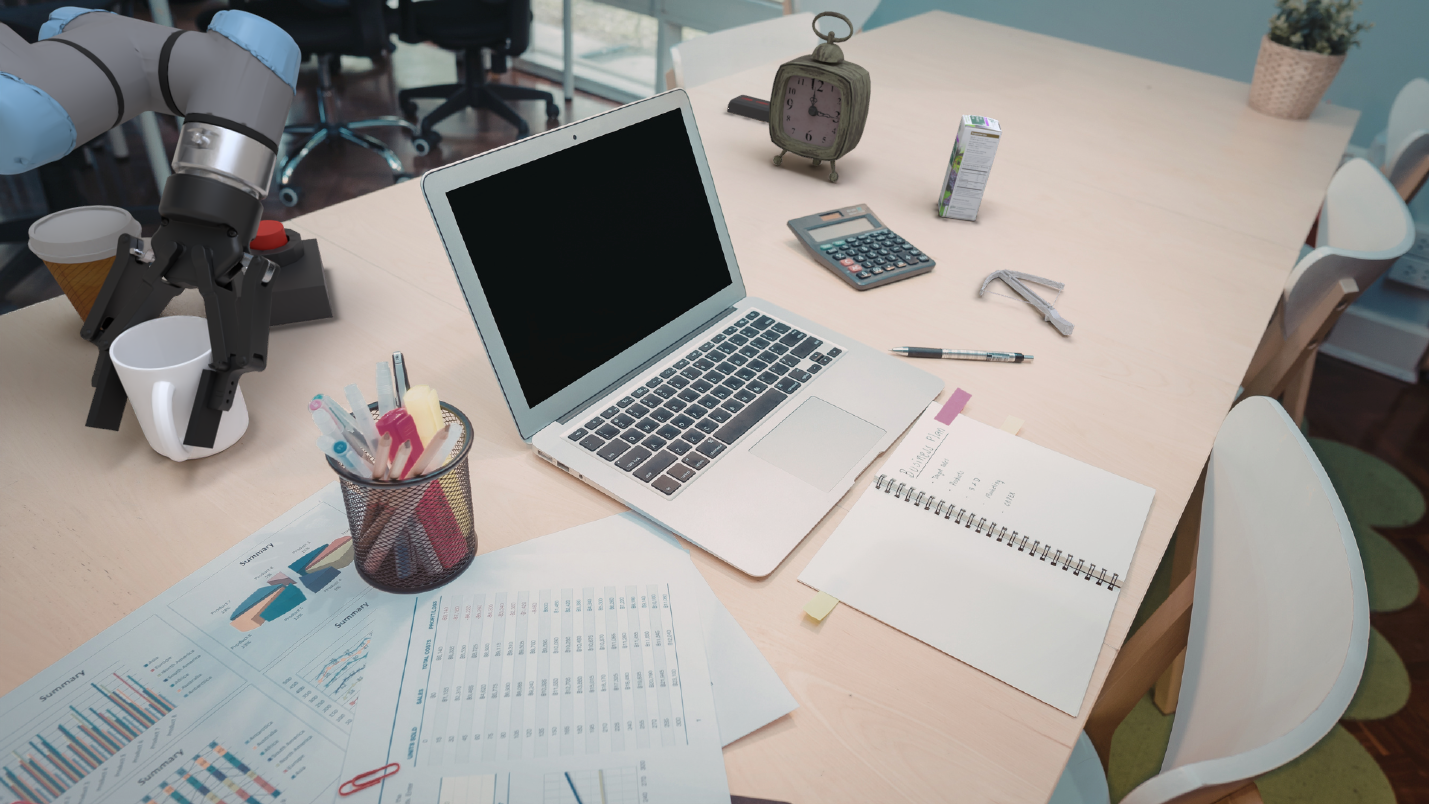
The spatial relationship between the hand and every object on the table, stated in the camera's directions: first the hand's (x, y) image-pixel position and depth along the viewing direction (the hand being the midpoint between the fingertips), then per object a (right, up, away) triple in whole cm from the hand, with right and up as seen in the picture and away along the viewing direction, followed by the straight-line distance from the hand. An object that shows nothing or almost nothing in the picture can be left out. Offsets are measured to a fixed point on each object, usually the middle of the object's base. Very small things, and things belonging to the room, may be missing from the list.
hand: (149, 437), depth 69 cm
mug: (+1, -1, +5) cm, 5 cm away
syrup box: (+87, +33, +60) cm, 111 cm away
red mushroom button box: (-2, +15, +26) cm, 30 cm away
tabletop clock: (+65, +43, +71) cm, 105 cm away
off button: (-3, +21, +24) cm, 33 cm away
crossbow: (+90, +16, +38) cm, 99 cm away
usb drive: (+57, +59, +91) cm, 123 cm away
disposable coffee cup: (-16, +11, +19) cm, 27 cm away
